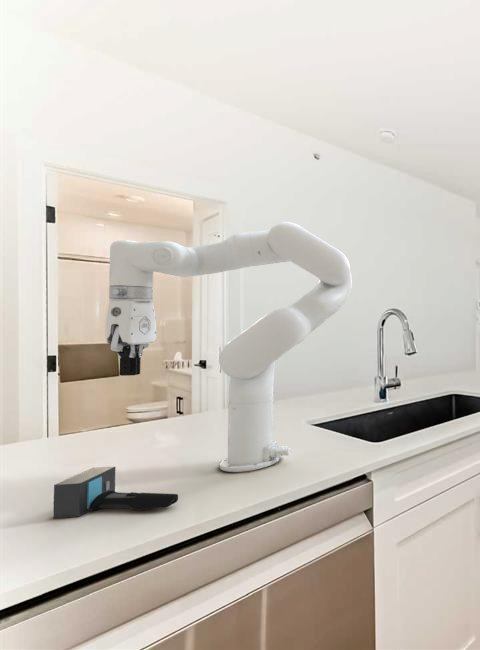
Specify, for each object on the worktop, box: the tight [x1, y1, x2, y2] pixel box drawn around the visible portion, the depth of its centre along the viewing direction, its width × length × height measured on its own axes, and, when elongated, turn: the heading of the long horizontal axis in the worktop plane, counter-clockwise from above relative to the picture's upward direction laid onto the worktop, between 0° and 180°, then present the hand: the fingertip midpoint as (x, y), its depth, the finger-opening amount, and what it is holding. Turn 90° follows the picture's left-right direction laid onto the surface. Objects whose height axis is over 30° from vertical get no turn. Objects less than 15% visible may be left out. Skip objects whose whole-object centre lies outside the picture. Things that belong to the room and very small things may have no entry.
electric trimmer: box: [89, 490, 179, 512], centre depth 81 cm, size 4×16×3 cm, turn 88°
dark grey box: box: [52, 466, 116, 519], centre depth 81 cm, size 4×6×9 cm
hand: (129, 374), depth 97 cm, fingers closed
